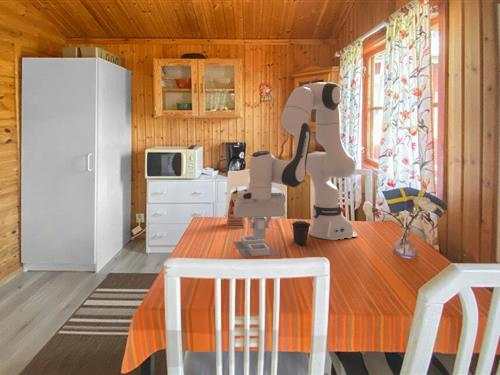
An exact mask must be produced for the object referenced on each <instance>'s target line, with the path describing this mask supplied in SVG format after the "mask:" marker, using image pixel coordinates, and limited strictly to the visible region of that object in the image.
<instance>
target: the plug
mask: <svg viewBox="0 0 500 375" xmlns="http://www.w3.org/2000/svg"><path fill="white" fill-rule="evenodd" d="M266 221H267V218H266V217H252V223H254V224H255V228H252V236H253V238H254V239H255V240H258V239H261V240H265V239H266V228H265V227H266Z"/></svg>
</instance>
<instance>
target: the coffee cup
mask: <svg viewBox="0 0 500 375" xmlns="http://www.w3.org/2000/svg"><path fill="white" fill-rule="evenodd" d="M291 226H292V233H293V235H292V237H293V243H295V244H297V245H299V246H300V247H306V246H307V244H308V243H307V242H308V235H309V232H310V230H309V229H310V227H311V223H309V222H307V221H303V220H296V221H293V222H292V223H291Z"/></svg>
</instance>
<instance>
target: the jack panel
mask: <svg viewBox="0 0 500 375" xmlns="http://www.w3.org/2000/svg"><path fill="white" fill-rule="evenodd" d="M233 245H235V247H236V249H237V250H238V252H239V253H240V254H241V256H242V257H243V258H251V257H265V256H268V257H269V256H278V255H279V253H277V252H276V251H275V249H273V248H272V247H271V246H270V245H269V243H267V241H265V239H258V240H255V239H254V238H253V235H241V236H240V241H233Z"/></svg>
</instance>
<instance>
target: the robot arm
mask: <svg viewBox="0 0 500 375" xmlns="http://www.w3.org/2000/svg"><path fill="white" fill-rule="evenodd" d="M342 94H343V93H342V89H341V87H340V86H339V85H338V84H337V83H335V82H313V83H307V84H305V83H304V84H300V85H298V86H296V87H295V88H294V89H293V91H292V92H291V93H290V96H289V97H288V99H287V101H286V104H285V106H284V108H283V111H282V114H281V119H280V123H281V125H282V127H283V128H284V130H285V131H286V132H288V133H289V134H291V135H293V136H294V137H295V143H294V149H293V154H292V157H291V159H289V160H287V159H280V158H277V157H275V156H274V155H273V154H272V152H271V151H269V150H259V151H255V152H253V153H251V157H250V161H249V170H248V173H249V184H248V187H247V188H245V189H241V190H237V191H238V192H237V196H238V198H237V199H236V200H235V204H234V215H235V217H237V218H245V219H246V218H247V221H248V223H249V227H250V229H253V228H255V224H254V223H253V217H264V218H265V219H266V227H265V229H269V224H270V223H271V220H272V217H276V218H277V217H284V216H285V214H286V206H285V203H286V195H285V194H283V193H282V192H278V193H277V192H272V190H273V188H272V187H273V185H272V183H273V184H278V185H284V186H287V187H291V188H298V187H299V186H300V185H301V184H302V183H303V182H304V180H305V178H306V173H307V175H308V176H309V177H310V179H311V181H312V184H313V189H314V204H313V206H312V217H313V218H312V223H311V226H310V227H311V228H310V230H309V232H308V235H310V236H311V237H314V238H318V239H324V240H329V241H337V240H338V239H340V240H345V239H344V238H348V239H353V238H352V237H356V238H358V233H357V232H355V231H354V229H353V228H354V227H353V224H352V222H351V221H350V220H349V219H348V218H347V217H345V216H344V215H343V214H342V213H345V212H346V208H344V207H340V206H339V196H340V195H339V194H340V191H339V189H338V187H337V186H336V185H334V183H333V182H332V181H331V178H335V179H344V178H345V179H346V178H350V177H352V176H353V174H354V173H355V171H356V162H355V160H354V158H353V156H352V155H351V154H349V153H348V151H346V150H347V149H346V148H345V147H344V144H343V141H342V140H343V139H342V136H341V135H342V133H341V130H342V129H341V111H340V103H341V101H342V99H343V98H342ZM312 110H316V111H315V141H316V142H317V143H318V144H319V145H320V146H322V147H323V149H324V152H320V151H319V152H318V151H316V152H310V153H309V151H310V144H311V138H312V128H311V126H310V124H309V122H310V117H311V114H312ZM338 241H339V240H338Z"/></svg>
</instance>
